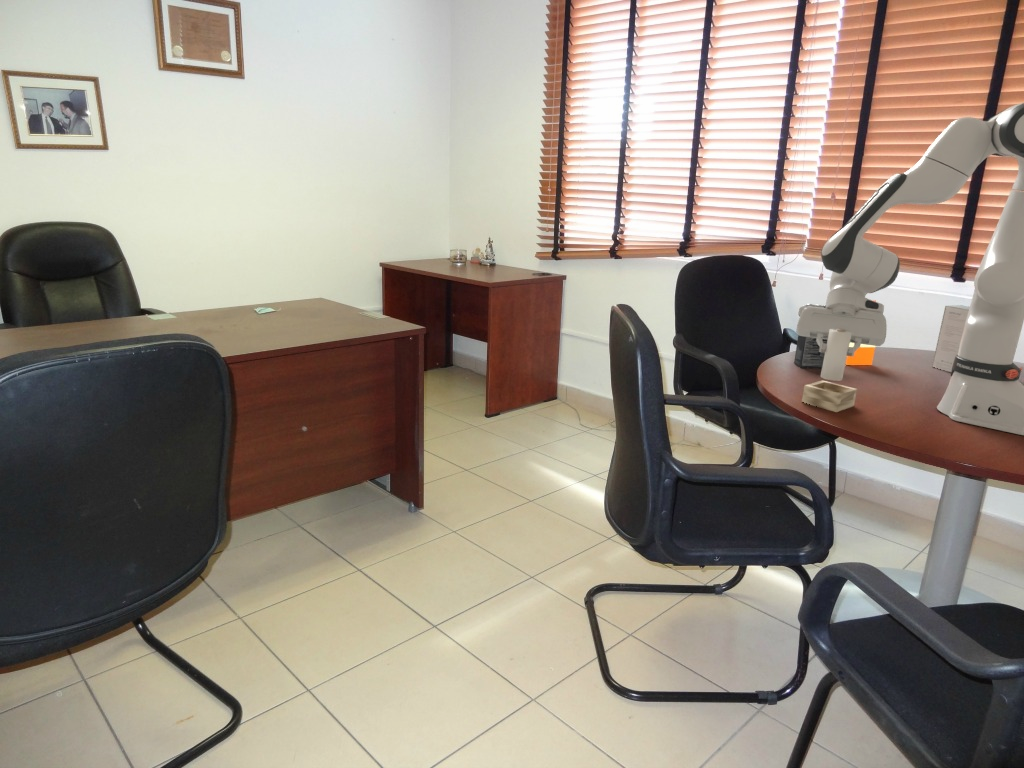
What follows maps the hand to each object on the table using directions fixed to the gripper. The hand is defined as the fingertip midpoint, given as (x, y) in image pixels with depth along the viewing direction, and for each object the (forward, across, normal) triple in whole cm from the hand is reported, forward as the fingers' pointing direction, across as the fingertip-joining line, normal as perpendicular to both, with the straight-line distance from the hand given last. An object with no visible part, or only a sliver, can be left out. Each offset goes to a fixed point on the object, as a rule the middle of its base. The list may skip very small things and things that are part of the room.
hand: (836, 353), depth 163 cm
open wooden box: (+9, 0, +10) cm, 13 cm away
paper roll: (+4, 0, +5) cm, 7 cm away
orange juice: (-28, +6, +47) cm, 55 cm away
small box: (-19, -4, +39) cm, 43 cm away
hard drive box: (-32, +37, +52) cm, 71 cm away
